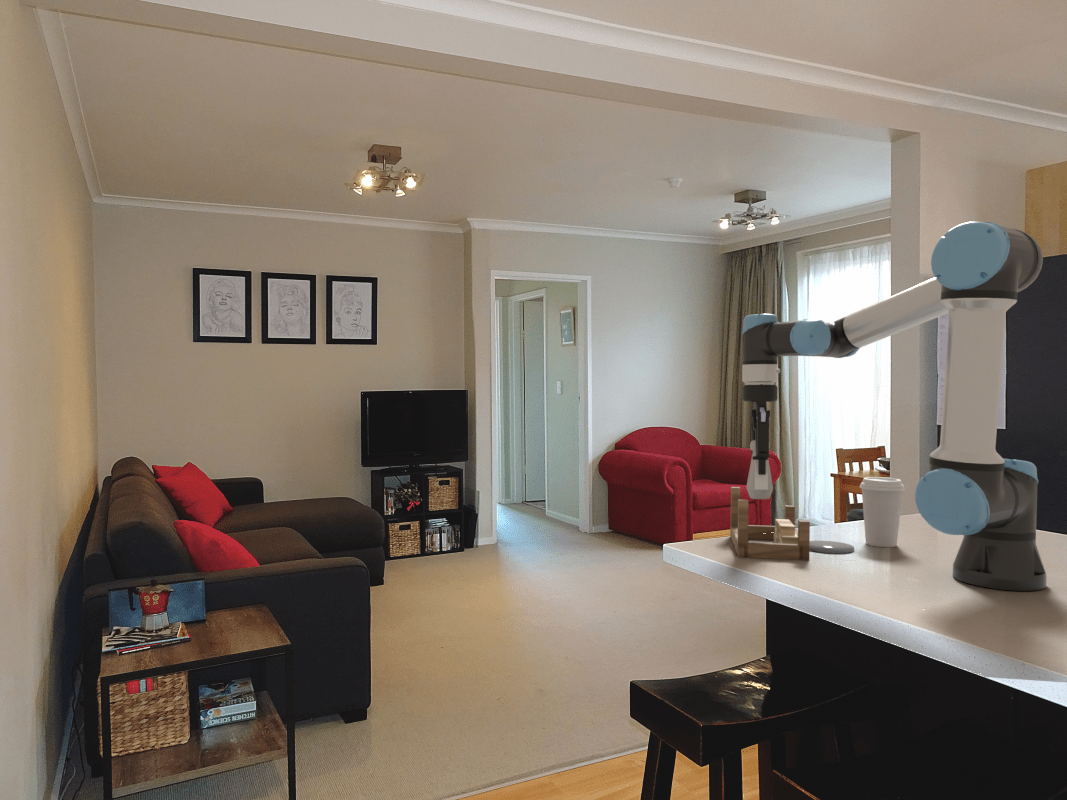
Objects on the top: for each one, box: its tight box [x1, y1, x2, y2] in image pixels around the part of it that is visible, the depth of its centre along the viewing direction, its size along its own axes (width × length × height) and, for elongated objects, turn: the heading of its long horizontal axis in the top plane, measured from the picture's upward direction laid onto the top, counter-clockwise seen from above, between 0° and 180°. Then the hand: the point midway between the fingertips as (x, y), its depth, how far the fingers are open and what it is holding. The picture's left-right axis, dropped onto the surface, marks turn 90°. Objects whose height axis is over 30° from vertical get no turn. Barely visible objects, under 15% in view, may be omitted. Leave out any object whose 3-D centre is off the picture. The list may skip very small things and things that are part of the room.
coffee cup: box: [859, 476, 906, 548], centre depth 180 cm, size 10×10×15 cm
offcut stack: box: [773, 518, 798, 544], centre depth 175 cm, size 14×3×6 cm, turn 170°
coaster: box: [809, 540, 855, 554], centre depth 175 cm, size 11×11×1 cm
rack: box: [729, 486, 811, 561], centre depth 175 cm, size 22×14×12 cm, turn 170°
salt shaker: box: [746, 440, 774, 500], centre depth 175 cm, size 6×6×13 cm
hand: (759, 487), depth 175 cm, fingers closed on salt shaker, 6 cm apart
